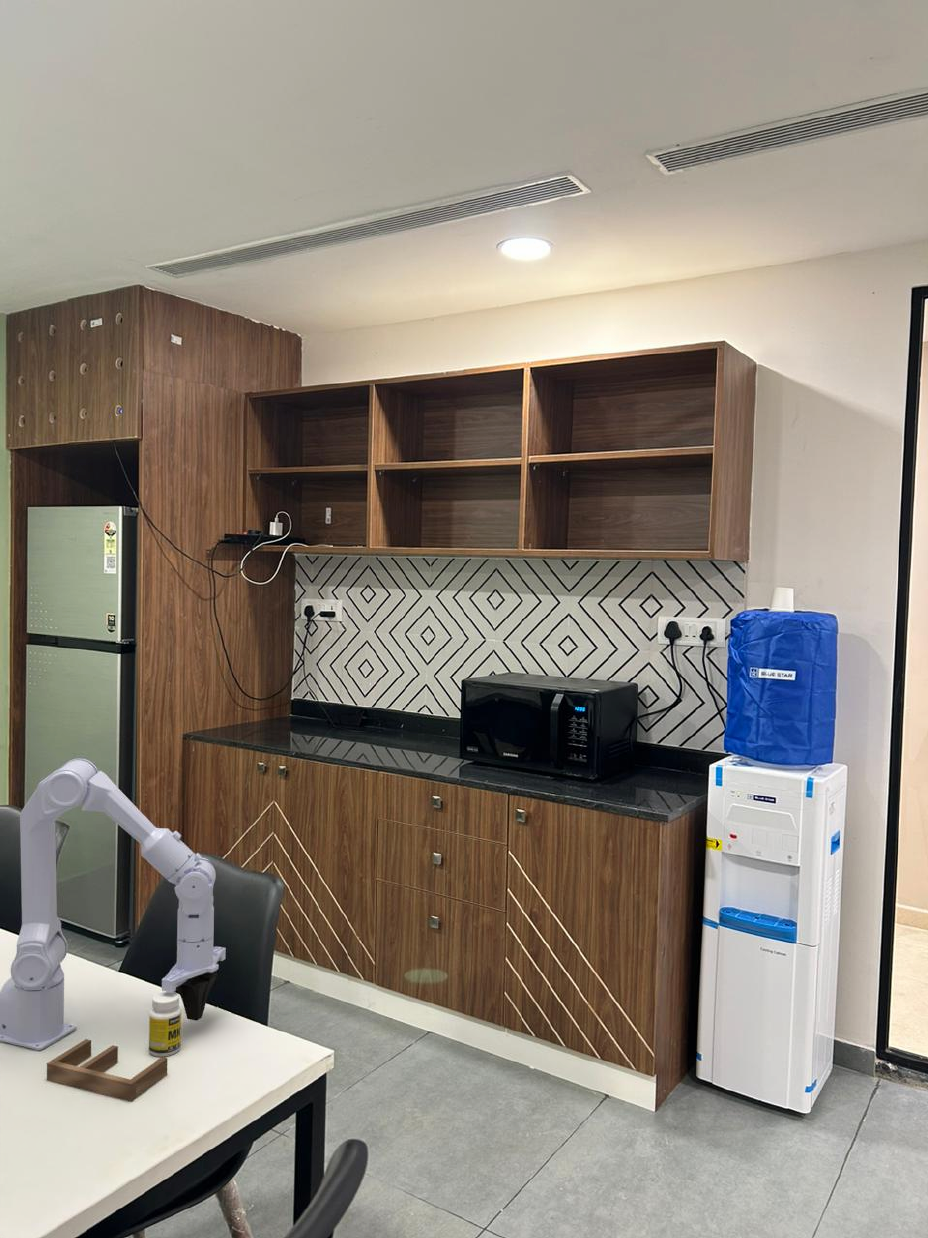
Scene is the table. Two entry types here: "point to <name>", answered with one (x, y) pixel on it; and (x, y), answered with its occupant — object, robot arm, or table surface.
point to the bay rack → (93, 1076)
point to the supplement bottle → (165, 1024)
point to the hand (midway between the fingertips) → (194, 1018)
